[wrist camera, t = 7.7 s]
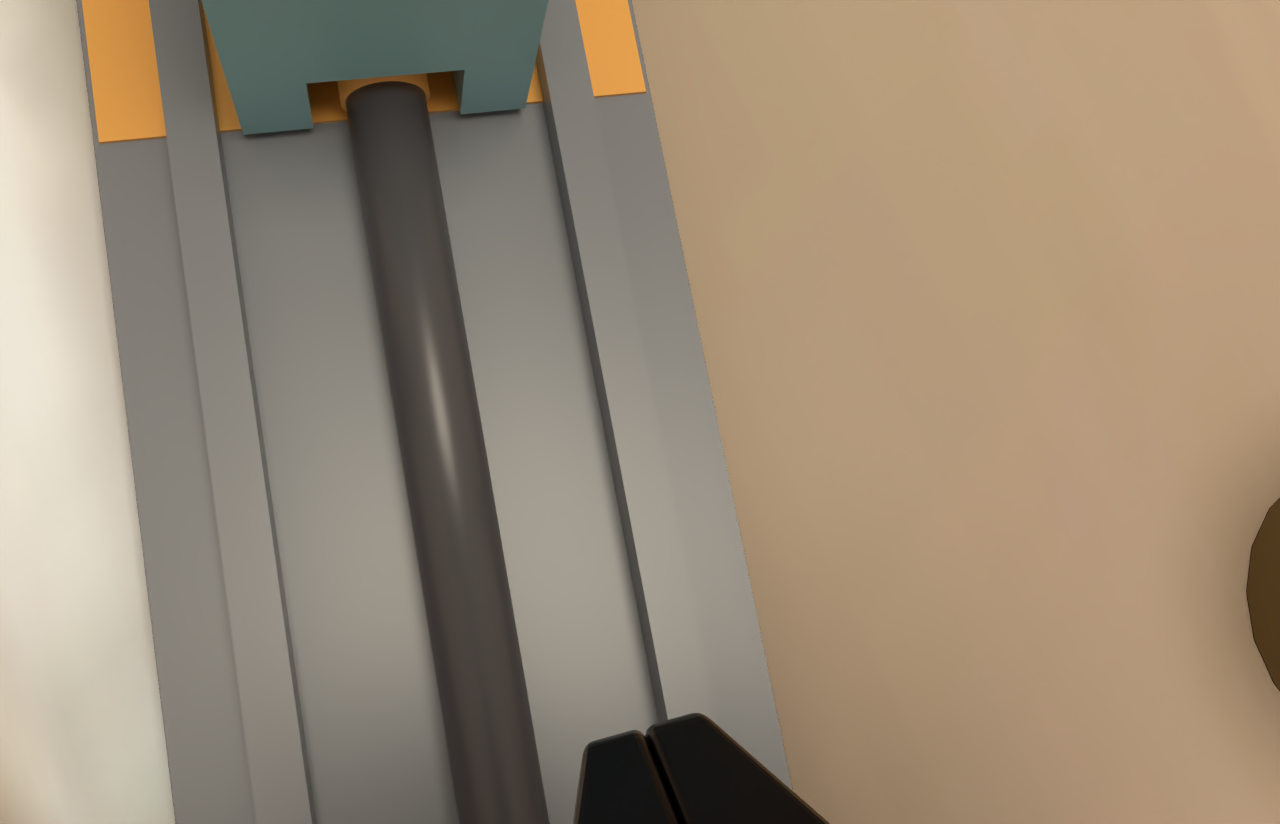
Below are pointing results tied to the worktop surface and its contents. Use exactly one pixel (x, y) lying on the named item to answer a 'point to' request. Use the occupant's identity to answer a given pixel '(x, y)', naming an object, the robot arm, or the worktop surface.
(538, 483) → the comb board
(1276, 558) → the cork
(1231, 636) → the worktop surface
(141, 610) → the worktop surface
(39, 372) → the worktop surface
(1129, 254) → the worktop surface
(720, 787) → the robot arm
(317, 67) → the notched teal block
